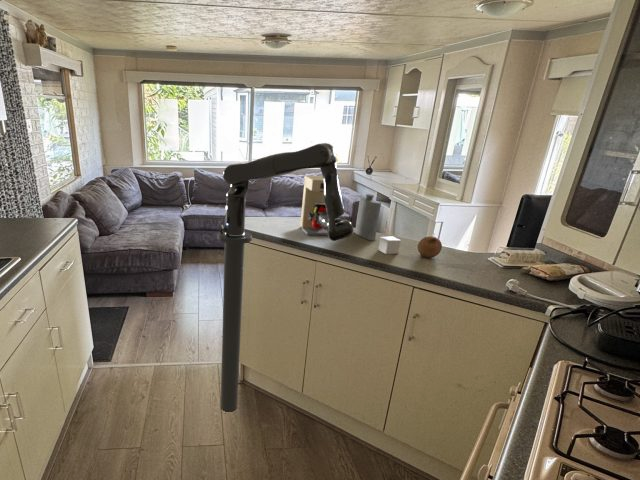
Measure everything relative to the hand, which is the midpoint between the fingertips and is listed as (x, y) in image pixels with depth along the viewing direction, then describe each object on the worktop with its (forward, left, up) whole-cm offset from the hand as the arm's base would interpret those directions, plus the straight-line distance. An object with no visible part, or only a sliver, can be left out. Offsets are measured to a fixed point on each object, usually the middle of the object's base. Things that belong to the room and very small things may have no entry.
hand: (318, 213), depth 210 cm
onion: (+34, -42, -9) cm, 55 cm away
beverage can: (0, -2, -7) cm, 7 cm away
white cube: (+20, -34, -9) cm, 41 cm away
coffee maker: (0, +1, -9) cm, 9 cm away
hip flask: (+21, -9, -9) cm, 25 cm away
